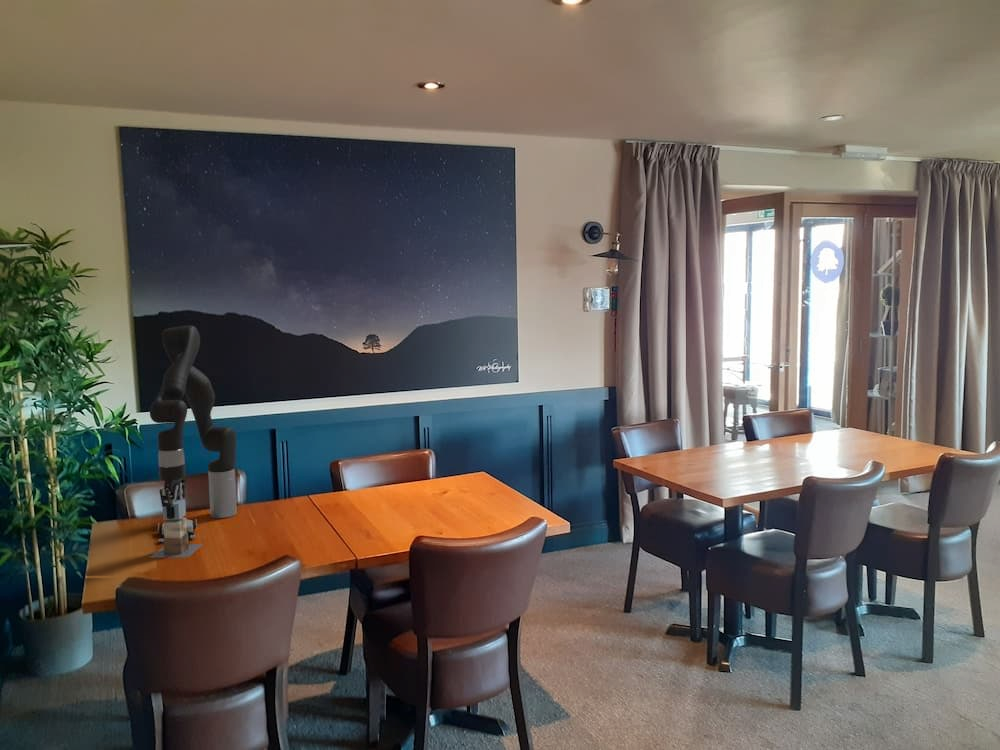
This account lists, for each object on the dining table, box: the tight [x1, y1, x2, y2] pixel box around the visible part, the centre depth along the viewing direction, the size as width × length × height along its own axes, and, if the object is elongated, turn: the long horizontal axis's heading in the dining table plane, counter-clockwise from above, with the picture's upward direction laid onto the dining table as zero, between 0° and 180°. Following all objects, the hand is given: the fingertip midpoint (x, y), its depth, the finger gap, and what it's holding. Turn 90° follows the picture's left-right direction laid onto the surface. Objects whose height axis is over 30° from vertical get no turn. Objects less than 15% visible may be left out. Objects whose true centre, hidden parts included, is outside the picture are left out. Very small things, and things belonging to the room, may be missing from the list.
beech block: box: [163, 517, 187, 538], centre depth 237 cm, size 5×5×5 cm
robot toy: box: [157, 518, 198, 543], centre depth 252 cm, size 12×4×15 cm
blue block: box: [162, 499, 187, 521], centre depth 236 cm, size 5×5×5 cm
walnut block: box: [162, 533, 189, 554], centre depth 237 cm, size 6×6×5 cm
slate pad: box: [148, 543, 203, 559], centre depth 238 cm, size 12×12×1 cm
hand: (174, 515), depth 236 cm, fingers closed on blue block, 5 cm apart
